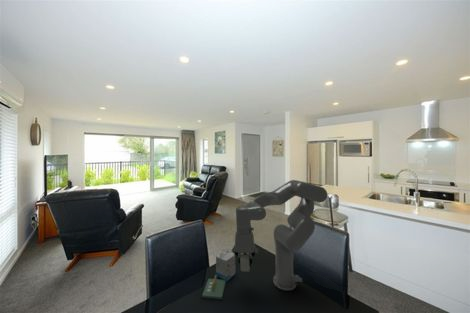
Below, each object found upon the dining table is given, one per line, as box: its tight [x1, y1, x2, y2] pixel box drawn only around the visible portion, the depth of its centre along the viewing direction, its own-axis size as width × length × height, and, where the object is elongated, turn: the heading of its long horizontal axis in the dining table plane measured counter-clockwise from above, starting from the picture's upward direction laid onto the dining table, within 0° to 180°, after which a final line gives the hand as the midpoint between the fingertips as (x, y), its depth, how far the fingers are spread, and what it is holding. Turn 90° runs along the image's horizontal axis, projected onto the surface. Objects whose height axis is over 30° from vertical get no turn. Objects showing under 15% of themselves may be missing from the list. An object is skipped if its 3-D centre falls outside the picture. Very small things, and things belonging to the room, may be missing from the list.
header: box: [201, 274, 227, 300], centre depth 91 cm, size 10×12×6 cm
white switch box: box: [239, 253, 251, 272], centre depth 90 cm, size 4×9×7 cm, turn 173°
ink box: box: [215, 249, 236, 282], centre depth 103 cm, size 9×8×13 cm
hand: (245, 264), depth 90 cm, fingers closed on white switch box, 4 cm apart
